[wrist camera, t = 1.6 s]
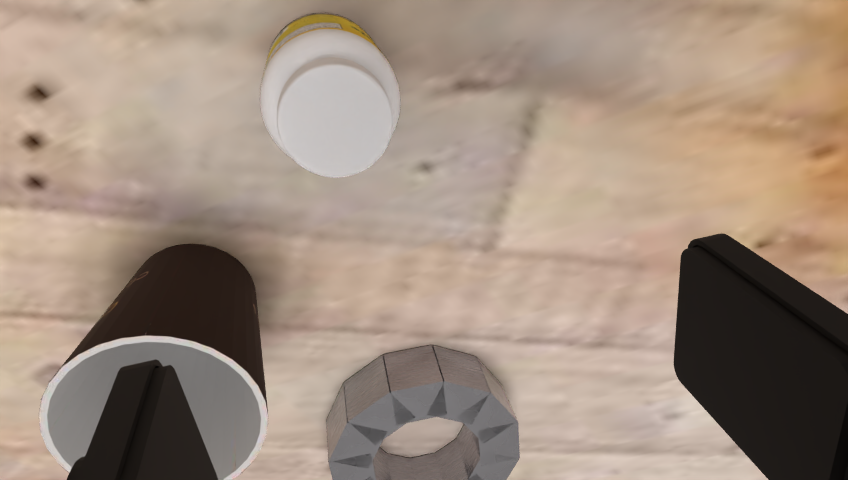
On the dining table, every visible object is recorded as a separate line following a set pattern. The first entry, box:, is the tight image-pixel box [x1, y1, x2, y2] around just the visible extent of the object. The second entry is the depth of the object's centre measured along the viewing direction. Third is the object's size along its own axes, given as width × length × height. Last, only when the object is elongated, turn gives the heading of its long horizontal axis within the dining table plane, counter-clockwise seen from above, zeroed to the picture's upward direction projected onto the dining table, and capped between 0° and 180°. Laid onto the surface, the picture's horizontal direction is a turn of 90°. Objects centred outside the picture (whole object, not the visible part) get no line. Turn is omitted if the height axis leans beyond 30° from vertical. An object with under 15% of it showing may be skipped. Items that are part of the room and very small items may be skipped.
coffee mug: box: [39, 244, 268, 480], centre depth 30 cm, size 12×9×10 cm
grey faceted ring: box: [326, 345, 520, 480], centre depth 38 cm, size 12×12×4 cm
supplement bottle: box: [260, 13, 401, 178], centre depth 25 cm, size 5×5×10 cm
